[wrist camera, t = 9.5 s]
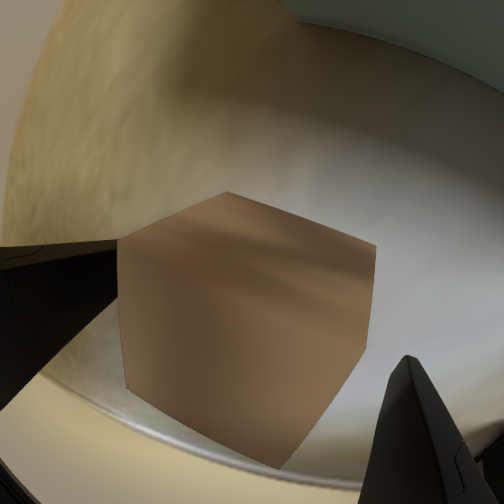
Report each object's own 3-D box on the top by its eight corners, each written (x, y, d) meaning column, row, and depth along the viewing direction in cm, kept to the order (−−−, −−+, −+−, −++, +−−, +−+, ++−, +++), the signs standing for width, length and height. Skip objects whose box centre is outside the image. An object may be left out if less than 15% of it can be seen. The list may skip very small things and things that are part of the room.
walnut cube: (376, 244, 9) (365, 349, 4) (322, 360, 11) (279, 469, 7) (228, 191, 10) (117, 240, 6) (206, 310, 12) (126, 388, 8)
